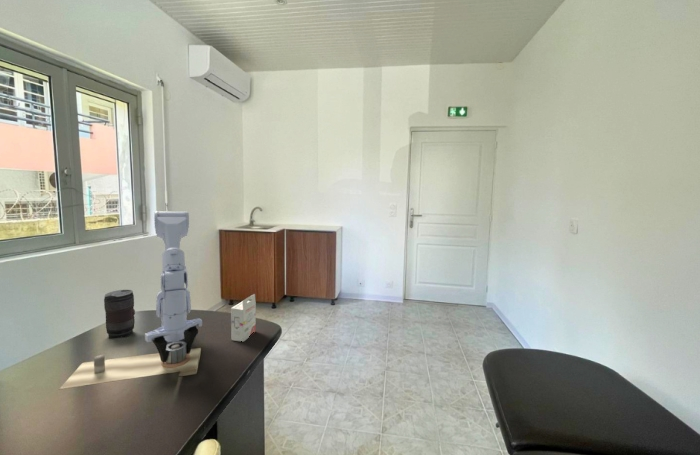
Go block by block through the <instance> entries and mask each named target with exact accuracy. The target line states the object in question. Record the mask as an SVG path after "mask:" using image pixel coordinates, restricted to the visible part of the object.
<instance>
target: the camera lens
mask: <svg viewBox="0 0 700 455" xmlns="http://www.w3.org/2000/svg"><path fill="white" fill-rule="evenodd" d="M103 302H104V303H103V304H104V305H103V306H104V312H105V328H106V329H105V330H106V333H107V334H108V338H109V339H113V340H114V339H122V338H127V337H129V336H132V334H133V333H134V332H133V331H134V329H135V323H136V321H135V320H136V319H135V314H136V310H135V309H134V306H135V296H134V292H133V290H131V289H119V290H113V291H109V292H107V293H105V294H104V299H103Z"/></svg>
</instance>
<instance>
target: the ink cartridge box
mask: <svg viewBox="0 0 700 455" xmlns="http://www.w3.org/2000/svg"><path fill="white" fill-rule="evenodd" d="M256 305H257V303H256V294H255V293H253V294H252V295H250V296H248V297H246V298H245V299H243V300H241V302H239V303H238V304H235V305H234V306H231V308H230V326H231V328H230V329H231V330H230V331H231V333H230V334H231V335H230V336H231V339H230V340H231V341H234V342H235V341H236V342H241V341H242V343H243V342H246V340H248V338H250V337H251V336H252V335H253V334H254V333H255V332H256V320H257V316H256V315H257V314H256V313H257V311H256V310H257V309H256V308H257V307H256ZM253 332H254V333H253ZM252 333H253V334H252ZM251 334H252V335H251ZM250 335H251V336H250ZM249 336H250V337H249Z"/></svg>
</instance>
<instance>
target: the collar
mask: <svg viewBox="0 0 700 455" xmlns="http://www.w3.org/2000/svg"><path fill="white" fill-rule="evenodd" d="M173 345H180V348H177V349H171V347H172V346H173ZM186 358H187V343H185V342H184V341H182V340H180V341H176V342H169V343H167V346H166V363H167V364H177V363H180V362H182V361H184V360H185V359H186Z"/></svg>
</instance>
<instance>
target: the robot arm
mask: <svg viewBox="0 0 700 455" xmlns="http://www.w3.org/2000/svg"><path fill="white" fill-rule="evenodd" d="M153 219H154V230H155V234H156V238H157V237H158V238H160V239H162V240H163V243H164V244H165V245H164V246H165V250H164V251H163V252H162V255H161V258H162V260H161V261H162V266H161V267H162V272H161V273H160V289H161V290H160V291H158V293H157V295H156V300H155V301H156V302H155V306H156V308H155V309H156V313H155V314H156V317H157V318H160V320H161V321H160V322H161V326H160V327H157V328H156V329H154V330H151V331H148V332H147V333H146V332H145V333H144V340H145V342H146V343H151V342H152V343H153V344H154V346H155V348H156V349H157V353H159V355H160V358H161V361H162V362H163V363H164V362H166V346H167V345H168V343H173V342H178V341H182V340H184V341H183V342H185V343H187V354H189V353H190V351H191V349H192V346H193V343H194V341H195V339H196V336H197V335H198V333H199V328H200V327H203V320H202V319H201V318H194V319H188V320H187V318H188V317H187V316H188V314H190V312H191V309H192V303H191V300H192V299H191V293H190V290H189V289H188V286H189V278H188V275H189V273H188V270H187V266H186V261H185V258H186V257H185V251H183V250H182V249H180V248H181V247H180V246H181V240H182V238H185V237H187V236H188V233H189V228H190V214H189V212H188V211H187V210H184V211H180V210H179V211H170V210H169V211H168V210H167V211H165V210H163V211H160V210H155V212H154V218H153ZM197 327H198V328H197Z"/></svg>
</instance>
